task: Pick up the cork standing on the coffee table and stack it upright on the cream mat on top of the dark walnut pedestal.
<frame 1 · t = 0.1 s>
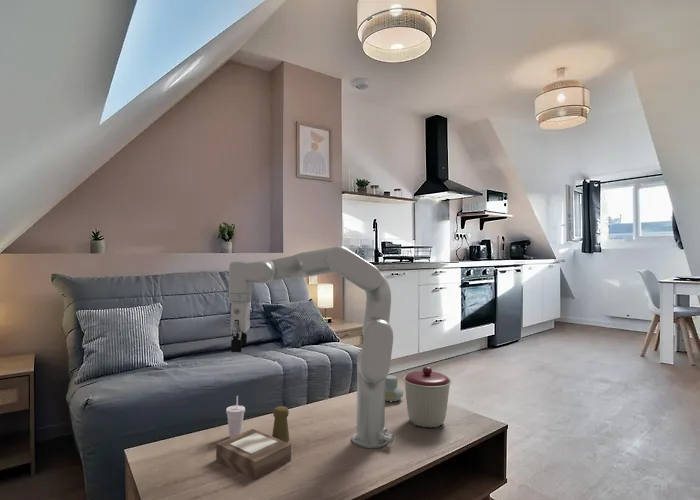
hand: (239, 348, 141), 31 cm above the table, tool pointing down, fingers open, 9 cm apart
canister: (426, 423, 159), on the table
pedestal: (253, 460, 128), on the table
air freshener: (390, 400, 184), on the table
smoothie: (235, 437, 144), on the table
cork: (280, 440, 142), on the table
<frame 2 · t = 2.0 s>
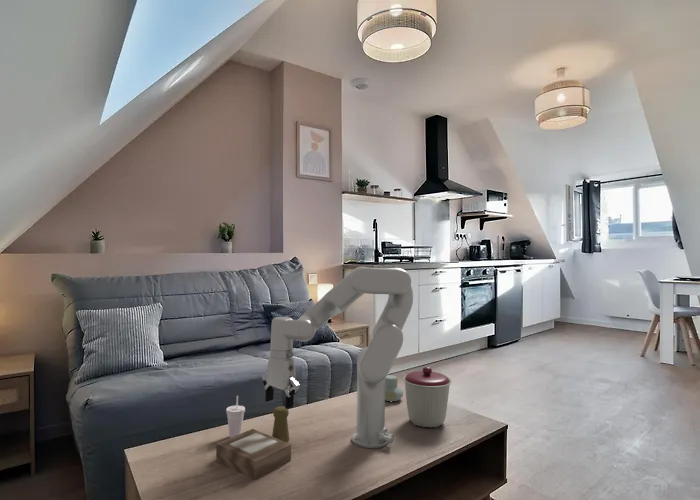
hand: (279, 404, 142), 12 cm above the table, tool pointing down, fingers open, 9 cm apart
nothing on the table moved.
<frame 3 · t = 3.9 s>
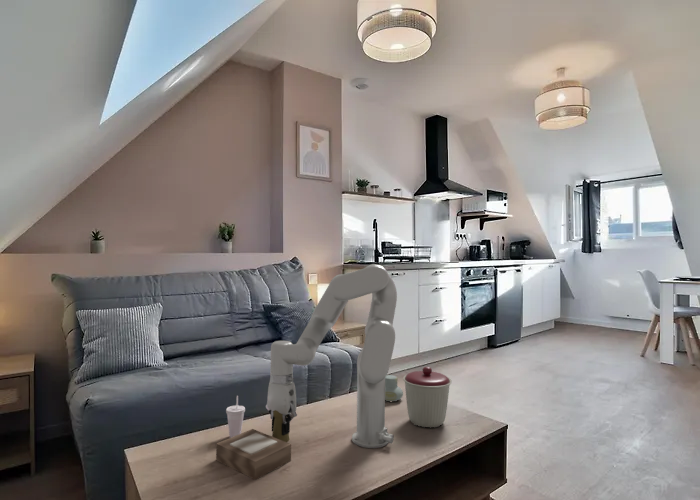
hand: (280, 431, 142), 3 cm above the table, tool pointing down, fingers closed on cork, 4 cm apart
cork: (280, 440, 142), on the table, touching gripper
everything else where it was.
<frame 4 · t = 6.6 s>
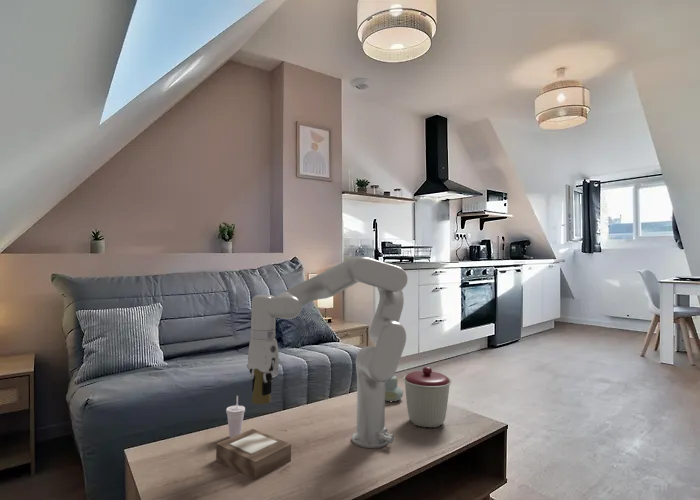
hand: (261, 391, 132), 20 cm above the table, tool pointing down, fingers closed on cork, 4 cm apart
cork: (261, 401, 132), point 17 cm above the table, touching gripper
everything else where it was.
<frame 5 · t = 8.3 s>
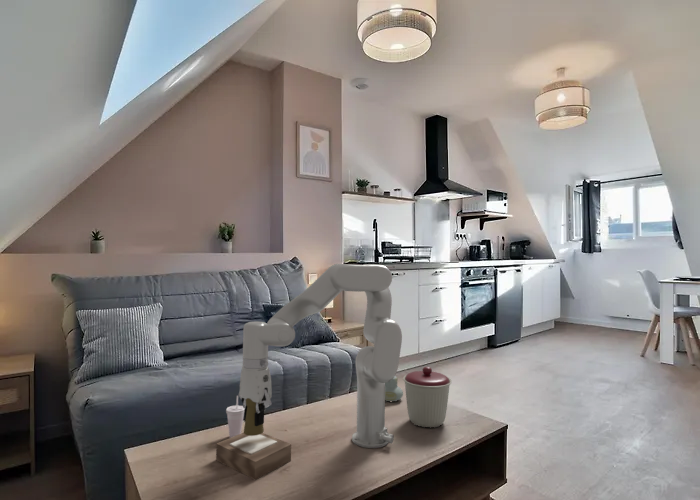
hand: (254, 422, 128), 12 cm above the table, tool pointing down, fingers closed on cork, 4 cm apart
cork: (253, 432, 128), point 9 cm above the table, touching gripper
everything else where it was.
when the fingers open (10 cm above the table, at t = 9.4 s): cork drops 1 cm, resting on pedestal.
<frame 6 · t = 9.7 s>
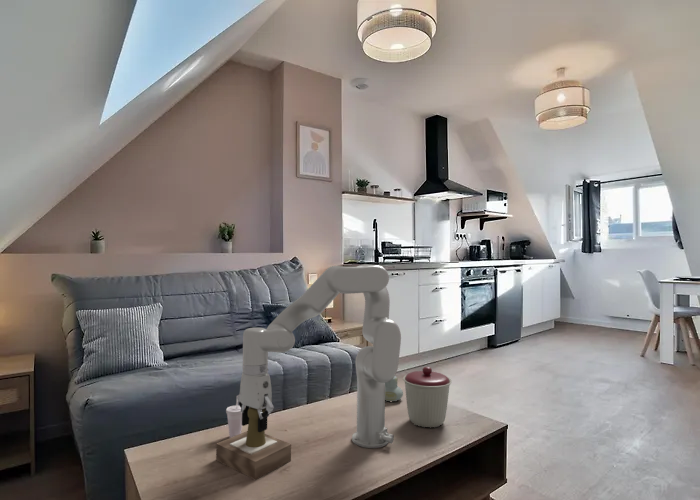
hand: (254, 427, 128), 10 cm above the table, tool pointing down, fingers open, 6 cm apart
cork: (255, 443, 128), point 5 cm above the table, touching pedestal
everything else where it was.
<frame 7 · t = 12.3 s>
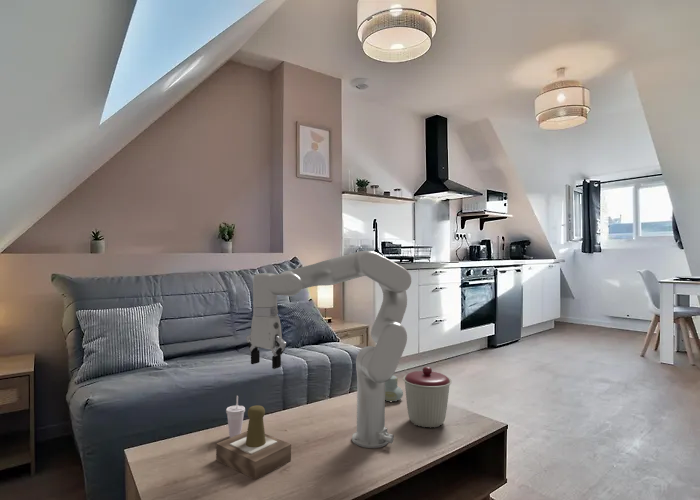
hand: (265, 365, 134), 27 cm above the table, tool pointing down, fingers open, 9 cm apart
nothing on the table moved.
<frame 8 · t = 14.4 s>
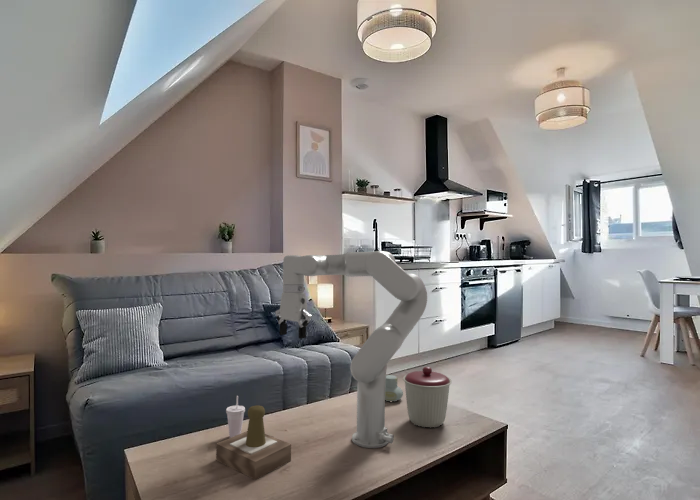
hand: (292, 336, 152), 33 cm above the table, tool pointing down, fingers open, 9 cm apart
nothing on the table moved.
at the end: cork inside the target area on the pedestal (0.6 cm from its centre), point 5.2 cm above the pedestal's base; cork tilted 0°; the gripper is holding nothing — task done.
